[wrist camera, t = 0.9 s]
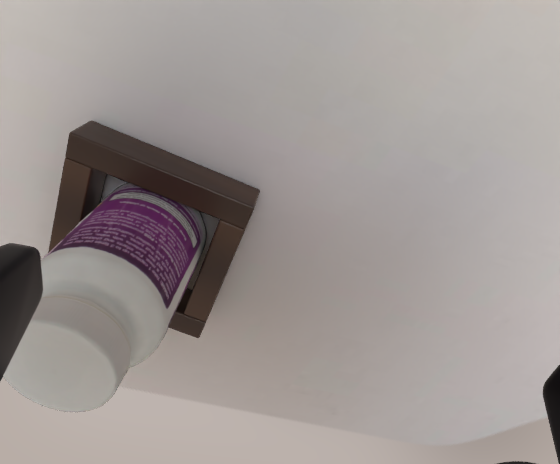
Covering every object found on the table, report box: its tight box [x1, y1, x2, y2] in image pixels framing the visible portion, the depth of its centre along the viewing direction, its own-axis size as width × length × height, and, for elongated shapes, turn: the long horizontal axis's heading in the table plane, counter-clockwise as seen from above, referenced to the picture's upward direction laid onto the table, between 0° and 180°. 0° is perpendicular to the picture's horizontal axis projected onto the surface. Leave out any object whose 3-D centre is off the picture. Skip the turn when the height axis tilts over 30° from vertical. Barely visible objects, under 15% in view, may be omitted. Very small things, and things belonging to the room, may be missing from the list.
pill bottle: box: [3, 183, 206, 412], centre depth 18 cm, size 5×5×10 cm
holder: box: [48, 121, 260, 338], centre depth 22 cm, size 8×8×2 cm
